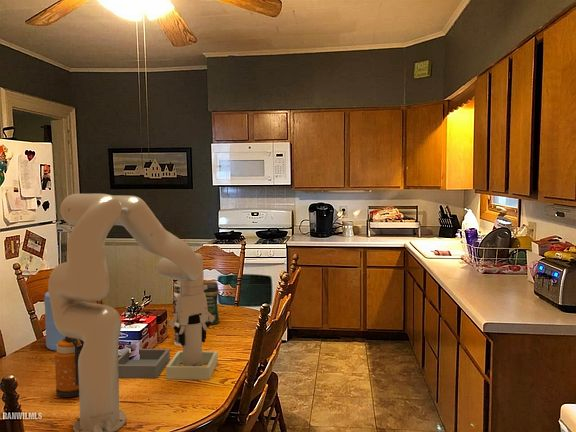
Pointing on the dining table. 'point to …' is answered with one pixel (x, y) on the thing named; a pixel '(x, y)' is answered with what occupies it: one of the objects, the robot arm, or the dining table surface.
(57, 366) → the canister
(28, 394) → the dining table surface
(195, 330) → the travel mug
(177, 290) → the decorative candle
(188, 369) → the sage crate
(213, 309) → the coffee jar
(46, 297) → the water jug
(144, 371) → the charcoal tray
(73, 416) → the dining table surface
